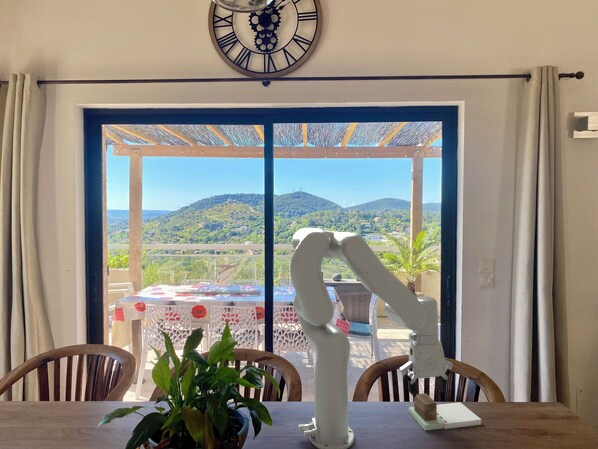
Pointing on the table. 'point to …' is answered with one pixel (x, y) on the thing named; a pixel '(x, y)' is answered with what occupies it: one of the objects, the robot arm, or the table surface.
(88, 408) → the table surface
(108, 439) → the table surface
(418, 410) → the stub
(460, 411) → the white flat slab
